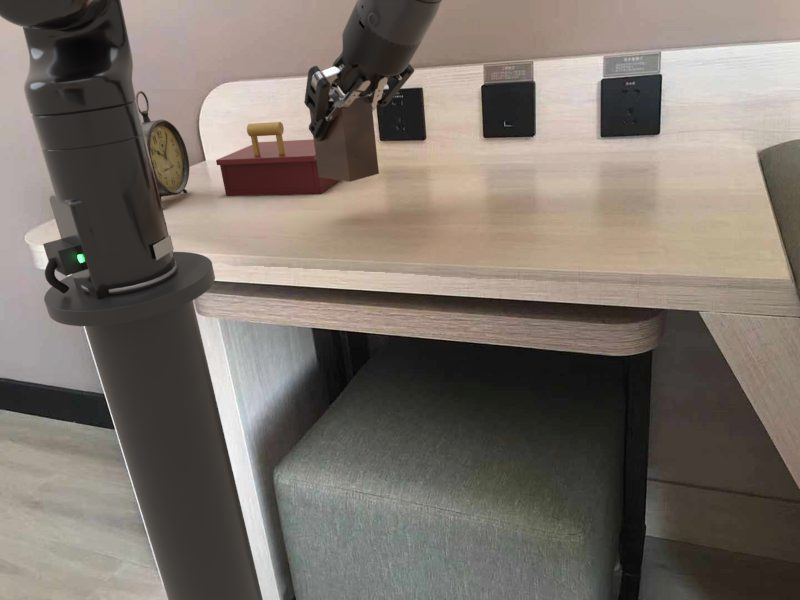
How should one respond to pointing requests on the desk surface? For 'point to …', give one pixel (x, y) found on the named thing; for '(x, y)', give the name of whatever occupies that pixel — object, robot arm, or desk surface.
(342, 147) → the bookend
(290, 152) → the box lid
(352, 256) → the desk surface
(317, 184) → the box base
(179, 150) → the alarm clock
